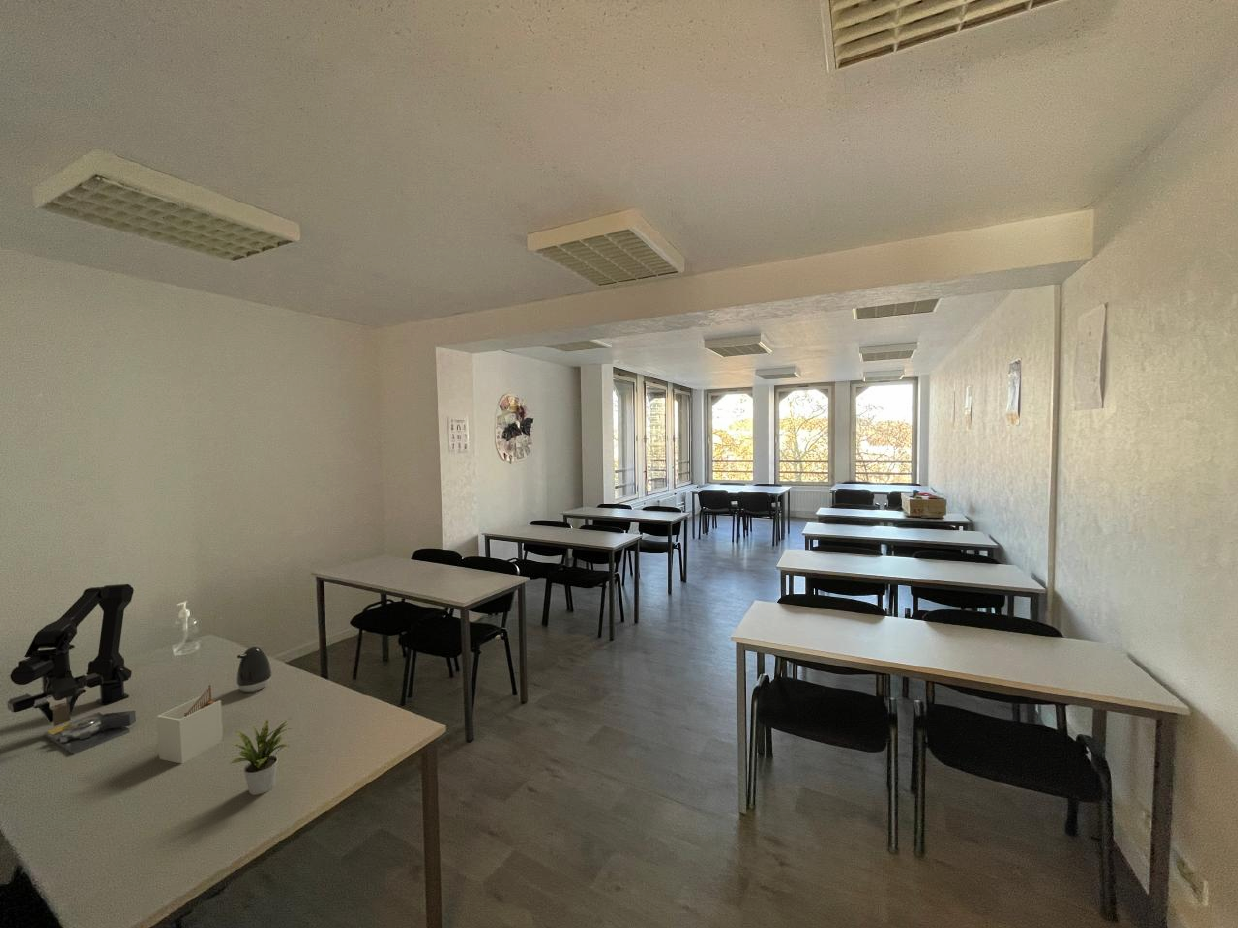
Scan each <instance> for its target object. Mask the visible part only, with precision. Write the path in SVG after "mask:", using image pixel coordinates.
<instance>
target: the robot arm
mask: <svg viewBox="0 0 1238 928" xmlns="http://www.w3.org/2000/svg"><path fill="white" fill-rule="evenodd" d="M134 593H135V590H134V587H132V586H131V584H129V583H120V584H118V583H117V584H108V585H106V584H105V585H104V586H93V587H88V588H85V589H84V591H83V592H82V595H81V596H80V597H79V598H78V599H77V600H76V601H75V602H74V603H73V604H72V605H71V606H70V607H69V608H68V609H67V610H66V611H65V612H64V613H63V615H62V616H61V617H60V618H58V619H57V620H56V621H53V622H50V623H49V624H47V625H45V626H44V627H43V628H41V629H40V630H38V631H37V632H36V634H35V635H34V636H33V639H32V641H31V643H30V644H29V647H28V649H27V651H26V653H25V655H24V656H23V657H24V658H25V659H22V660H20V661H18V666H16V667H14V668H13V669H12V670H11V674H10V677H9V678H10V680H11V682H12V683H14V684H15V685H17V686H26V685H29V684H30V683H33V682H35V681H36V680H39V679H41V680H42V681H41V683H42V687H41V689H42V692H41V693H37V694H35V695H31V694H30V693H26V694H22V695H19V696H15V697H12V698H10V699H9V700H8V701H7V702H6V703H7V709H8V710H9V711H11V712H12V713H19V712H22V711H26V710H28V709H31V708H33V709H39V710H40V711H41V712H42V714H43V715H44V717H45V719H46V720H47V721H48V722H52V715H51V711H50V707H51V706H50V704H51V703H50V702H49V701H48V700H47V699H49V698H53V700H54V701H61V700H63V699H65V700H66V701H65V702H66V703H68V704H69V705H70V716H71V715H72V713H73V710H74V707H75V705H76V702H77V701H78V699H79V697H80V696H81V695H82V694H84V693H86V692H87V690H86V689H85V687H87V688H90V689H92V688H96V687H99V693H100V694H99V696H100V698H97V699H96V700H95V702H97V703H98V704H101V705H103V706H106V705H109V704H112V703H114V702H117V701H119V700H122V699H125V698H128V697H130V694H128V693H126V692H125V685H124V684H125V682H127V681H129V680H130V678H131V676H132V673H133V671H132V669H129V668H128V667H127V666H125V659H124V657H123V656H122V655H121V653H120V644H121V635H122V627H123V619H124V611H125V609H126V608H127V607H128V605H129V604H130V603H131V602H132V599H133V594H134ZM97 606H100V609H101V610H102V612H103V616H102V622H101V629H100V630H101V631H100V637H99V644H98V651H97V652H98V653H97V655H96V656H95V658H94V659H93V660H92V661H89V662H88V663H87V670H86V675H85V674H83V675H80V676H76V677H74V676H73V673H72V670H71V664H70V663H71V660H70V651H71V650H73V649H75V648H76V646H75V645H74V644H71V642H72V641H73V639H74V638H75V637H76V635H77V634H78V627H79V625H80V624H81V623H82V622H83V621H84V620H85V619H86V618H87V617H88V615H89V614H90V613H91V612H92V611H93V610H94V609H95V608H96V607H97Z"/></svg>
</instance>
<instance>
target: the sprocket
mask: <svg viewBox="0 0 1238 928" xmlns="http://www.w3.org/2000/svg"><path fill="white" fill-rule="evenodd" d="M86 717H87V716H86ZM83 718H84V719H83V720H82V721H79V722H76V723H74V724H68V723H67V724H68V725H66V726H64V727H62V730H63V731H60V732H57V733H56V734H55V740H58V739H60V742H68V741H70V740H73V739H78V738H80V740H81V739H84V738H88V737H90V736H91V735H92V734H95V733H97V732H99V731H105V730H107V729H108V728H115V727H123V726H125V727H130V726H132V725H133V724H135V723H136V722H137V715H136V710H126V711H120V712H119V711H118V712H111V713H104V714H103V715H102V716H98V717H92V716H91V717H87V718H85V717H83Z"/></svg>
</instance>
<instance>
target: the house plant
mask: <svg viewBox="0 0 1238 928" xmlns="http://www.w3.org/2000/svg"><path fill="white" fill-rule="evenodd" d="M291 719H292V718H291V717H290V718H288V719H287V720H285V721H284V722H282V723H281V724H280V725H279V726H278V727H277V728H275V729H273V730H272V731H270V732H269V730H270V729H269V719H266V720H265V722H264V724H263V726H262V728H261V732H260V734H259V732H258V730H257V728H256V727H255V726H252V727H253V731H254V733H255V738H254V740H256V745H257V748H258V749H257V750H256V749H255V747H254V745H253V743H252V741H251V739H250V737H249V736H248V735H247V734H245V733H242V732H240V731H236V730H235V733H236V734H237V735H238V736H239V737H240V739H241V741H242V742H243V744H244V746H243V745H241V744H238V743H231V745H233V746H235V747H238V748H239V749H241V750H242V751H239V755H240V756H241V757H237V758H235V759H233V760H231V762H230V763H229V765H231V764H235V763H236V764H237V763H240V762H245V761H246V762H248V763H247V764H246V765H244V768H243V774H244V777H245V781H246V785H247V788H248V792H249V793H250V795H254V796H257V795H261V794H264V793H266V792H268V791H270V790H272V788H273V787H275V784H276V777H277V776H276V775H277V769H278V763H279V762H278V761H279V758H278V756H277V755H276V754H277V753H278V752H279V751H280V750H282V749H283V748H287V747H288V748H290V744H284V743H283V744H279V743H280V742H281V741H282V740H283V739H284V737H282V736H284V733H283V732H285V731H287V730H291V729H293V727H288V728H284V727H285V726H287V725H288V724H286V723H288V722H289V721H290V720H291ZM271 734H272V735H271ZM279 734H280V735H279ZM270 735H271V736H270ZM278 735H279V736H278ZM269 736H270V738H269V739H267V738H268V737H269ZM275 750H277V751H276V752H275V753H274V754H272V753H273V752H274V751H275Z"/></svg>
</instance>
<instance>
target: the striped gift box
mask: <svg viewBox="0 0 1238 928" xmlns="http://www.w3.org/2000/svg"><path fill="white" fill-rule="evenodd" d="M50 711H51V715H52V722H49V721H48V722H49V724H50V725H51V726H53V727H57V726H59V725H61V724H64V723H65V724H66V723H67V722H69V721H72V720H71V719H72V718H71V715H70V705H69V704H68V703H66V701H64V702H61V703H58V704H55V705H53V706H50Z"/></svg>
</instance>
